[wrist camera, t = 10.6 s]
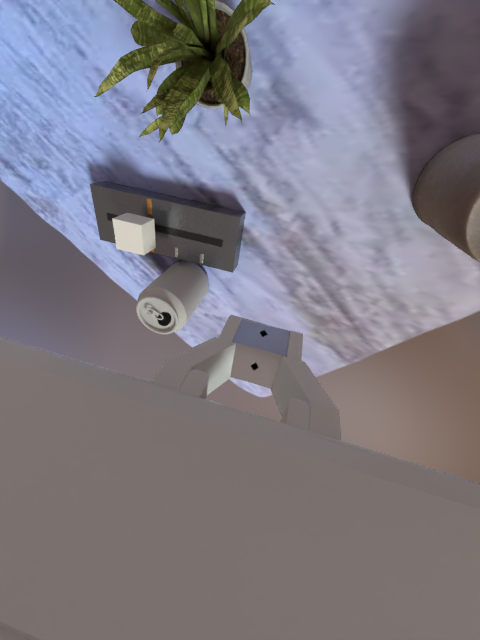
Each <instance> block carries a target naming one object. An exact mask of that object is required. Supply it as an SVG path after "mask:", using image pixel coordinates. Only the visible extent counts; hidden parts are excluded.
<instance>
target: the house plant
mask: <svg viewBox="0 0 480 640" xmlns="http://www.w3.org/2000/svg"><path fill="white" fill-rule="evenodd" d="M114 1H115V2H116V3H118V4H119V5H120V6H121V7H123V8H124V9H125V10H126V11H127V12H128V13H130V14H131V15H132V16H134V17H135V18H136V19H137V20H139V21H136V22H135V23H134V24H133V25H132V28H131V33H132V36H133V38H134V40H135V42H136V43H137V44H138V45H141V46H146V47H142V48H139V49H136V50H134V51H131V52H129V53H128V54H126V55H124V56H123V57H121V58H120V59H119V60H118V62H117V63H116V65H115V66H114V67H113V69H112V70H111V72H110V74H109V75H108V76H107V78H106V79H105V80H104V81H103V82H102V84H101V85H100V86H99V89H98V92H97V94H96V96H94V97H97V96H99V95H101V94H102V93H104V92H106V91H107V90H109V89H110V88H111V87H113V86H114V85H115V84H117V83H118V82H120V81H121V80H123V79H124V78H125V77H127V76H128V75H130V74H131V73H133V72H135V71H138V70H141V69H145V68H150V71H149V75H148V79H147V84H148V89H149V87H150V85H151V83H152V80H153V78H154V76H155V74H156V71H157V69H158V66H160V65H164V64H169V63H174V62H175V63H176V70H175V71H174V72H172V73H171V74H170V75H169V76H168V77H167V78H166V79H165V80H164V81H163V83H162V84H161V85H160V87H159V89H158V91H157V94H156V95H155V97H154V98H153V99H152V100H151V101H150V102H149V103H148V104H147V105H146V106H145V107H144V109H143V112H142V113H144V112H146V111H148V110H151V109H152V108H154V107H156V113H157V116H158V115H159V114H162V116H161V117H159V118H158V119H156V120H155V121H154V122H152V123H151V124H149V125H148V127H147V128H146V129H145V130H144V131H143V132H142V133H141V135H140V136H139V137H141V136H144V135H147V134H149V133H151V132H153V131H154V130H156V129H158V128H159V134H160V141H161V140H162V138H163V136H164V135H165V133H166V131H167V129H168V127H169V129H170V132H171V134H175V133H178V132H179V131H180V129H181V128H182V126H183V123H184V120H185V117H186V114H187V113H188V112H189V111H190V110H191V109H192V108H193V107H194V106H195V104H196V103H197V104H198V105H199V106H202V107H205V108H208V109H218V108H221V107H223V106H224V116H225V125H226V123H227V120H228V110H229V111H230V112H231V114H232V115H234V116H235V117H237V118H239V119H240V120H241V122H242V118H241V113H240V110H239V107H241V108H242V109H244V110H245V111H247V112H248V113H249V115H250V112H249V106H250V98H249V94H248V91H247V90H248V88H249V86H250V83H251V78H252V63H251V58H250V52H249V47H248V41H247V36H246V33H245V30H244V27H245V26H246V25H248V24H249V23H250V22H252V21H253V20H254V19H255V18H256V17H257V16H258V15H259V14H260V12H261V11H262V10H263V9H264V8H266V7H267V6H268V5H270V4H274V3H272V2H271V1H270V0H242V1H241V2H240V4H239V5H238V6H237V8H236V9H235V11H234V10H233V9H231V8H230V7H229V6H228V5H226V4H225V3H224V2H220V1H217V0H184V2H185V4H186V6H187V9H188V12H187V11H186V9H185V6H184V3H183V0H175V1H176V3H177V5H178V7H177V6H176V5H175V4H174V3H173V2H172V1H171V0H156V1H158V2H159V3H160V4H161V5H162V6H163V7H164V8H166V9H167V10H168V11H169V12H170V13H171V14H172V15H174V16H175V17H176V18H177V19H178V20H179V21H181V23H175V22H174V21H172V20H170V19H169V18H167V17H165V16H163V15H162V14H160V13H158V12H156V11H155V10H154V9H152V8H151V7H150V6H148V5H147V4H146V3H144V2H143V1H142V0H114ZM274 5H275V4H274ZM146 92H147V91H146ZM238 106H239V107H238ZM140 114H141V113H140ZM250 116H251V115H250ZM160 141H159V142H160Z"/></svg>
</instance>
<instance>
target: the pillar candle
mask: <svg viewBox="0 0 480 640" xmlns="http://www.w3.org/2000/svg"><path fill="white" fill-rule="evenodd" d="M413 206H414V210H415V213H416V214H417V216H418V217H419V218H420V219H421V221H423V222H424V223H425V224H427V225H429V226H430V227H431V228H433V229H434V230H435V231H436V232H437V233H439V234H440V235H441V236H443V237H444V238H445V239H447V240H448V241H450V242H451V243H452V244H454V245H455V246H456V247H458V248H459V249H461V250H462V251H464V252H465V253H466V254H468V255H469V256H471V257H472V258H474V259H475V260H477V261H478V262H480V133H479V134H474V135H470V136H467V137H464V138H462V139H459V140H457V141H455V142H453V143H451V144H449V145H448V146H446V147H445V148H443V149H442V150H441V151H439V152H438V153H437V154H436V155H435V156H434V157H433V158H432V159H431V160H430V161H429V162H428V163H427V165H426V166H425V167H424V169H423V170H422V172H421V174H420V176H419V178H418V180H417V183H416V185H415V189H414V192H413Z"/></svg>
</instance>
